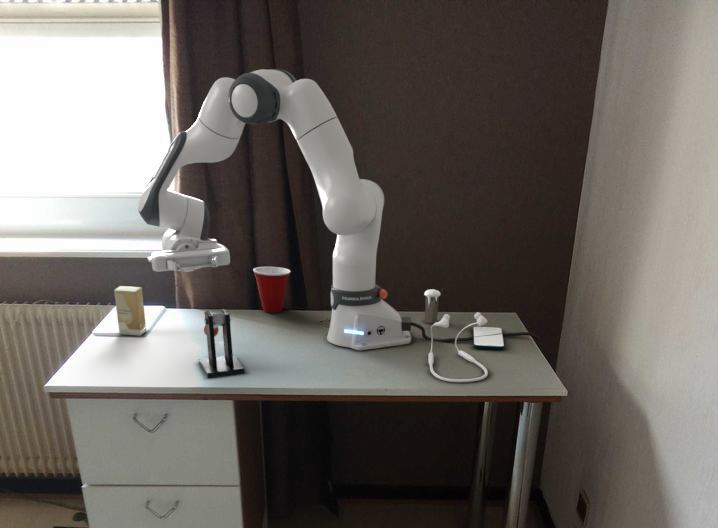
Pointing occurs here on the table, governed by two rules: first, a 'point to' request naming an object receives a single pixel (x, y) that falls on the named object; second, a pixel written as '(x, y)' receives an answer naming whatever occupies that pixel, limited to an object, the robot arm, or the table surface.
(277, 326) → the table surface
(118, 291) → the cosmetic box
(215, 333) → the lever
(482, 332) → the smartphone
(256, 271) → the plastic cup
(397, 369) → the table surface
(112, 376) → the table surface
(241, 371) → the bracket
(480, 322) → the earphone
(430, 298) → the milkshake
